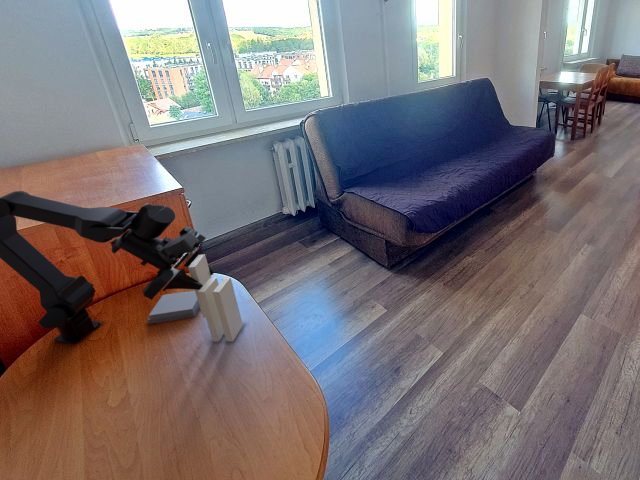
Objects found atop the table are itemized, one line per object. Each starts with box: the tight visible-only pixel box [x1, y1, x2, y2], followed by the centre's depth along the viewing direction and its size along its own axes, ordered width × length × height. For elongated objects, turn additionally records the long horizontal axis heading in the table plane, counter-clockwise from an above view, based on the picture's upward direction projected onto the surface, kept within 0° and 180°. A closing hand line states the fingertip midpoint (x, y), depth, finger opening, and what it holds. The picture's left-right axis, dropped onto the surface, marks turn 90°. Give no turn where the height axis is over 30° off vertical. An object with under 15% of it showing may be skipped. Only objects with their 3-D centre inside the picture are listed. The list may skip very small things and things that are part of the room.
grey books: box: [147, 290, 200, 325], centre depth 93 cm, size 11×8×3 cm
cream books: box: [198, 276, 244, 342], centre depth 84 cm, size 5×5×16 cm
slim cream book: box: [187, 253, 212, 318], centre depth 86 cm, size 2×5×16 cm, turn 7°
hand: (208, 280), depth 86 cm, fingers closed on slim cream book, 5 cm apart
